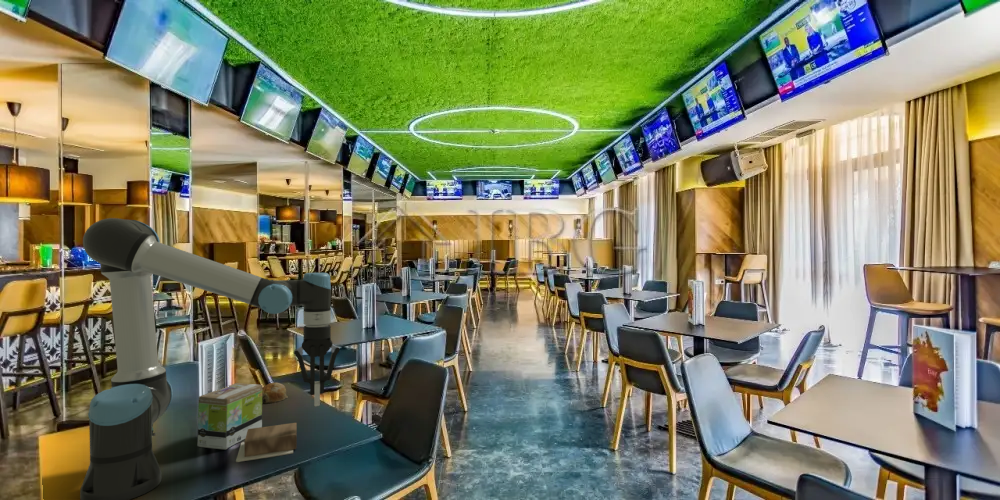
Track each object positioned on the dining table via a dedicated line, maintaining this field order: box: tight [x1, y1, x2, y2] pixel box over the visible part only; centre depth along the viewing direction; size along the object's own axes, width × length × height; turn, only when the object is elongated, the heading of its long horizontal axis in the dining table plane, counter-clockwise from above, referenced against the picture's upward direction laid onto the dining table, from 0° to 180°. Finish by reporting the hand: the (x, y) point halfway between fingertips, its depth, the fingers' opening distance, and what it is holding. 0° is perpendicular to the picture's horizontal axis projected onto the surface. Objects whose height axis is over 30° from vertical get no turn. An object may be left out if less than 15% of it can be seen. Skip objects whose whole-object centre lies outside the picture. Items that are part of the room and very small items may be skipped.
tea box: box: [197, 382, 263, 450], centre depth 144 cm, size 15×10×15 cm, turn 168°
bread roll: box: [262, 382, 288, 404], centre depth 181 cm, size 10×10×8 cm
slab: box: [243, 422, 298, 457], centre depth 137 cm, size 4×10×13 cm
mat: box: [235, 441, 294, 463], centre depth 137 cm, size 14×13×1 cm
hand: (317, 404), depth 142 cm, fingers closed
